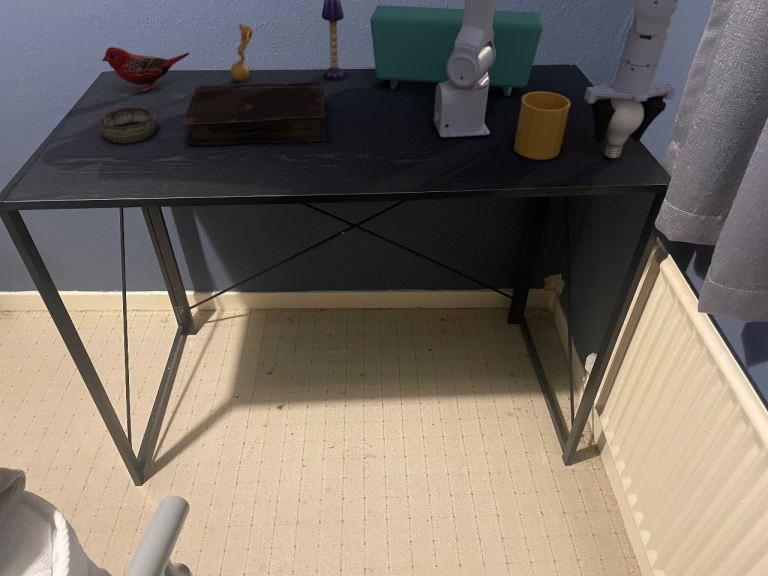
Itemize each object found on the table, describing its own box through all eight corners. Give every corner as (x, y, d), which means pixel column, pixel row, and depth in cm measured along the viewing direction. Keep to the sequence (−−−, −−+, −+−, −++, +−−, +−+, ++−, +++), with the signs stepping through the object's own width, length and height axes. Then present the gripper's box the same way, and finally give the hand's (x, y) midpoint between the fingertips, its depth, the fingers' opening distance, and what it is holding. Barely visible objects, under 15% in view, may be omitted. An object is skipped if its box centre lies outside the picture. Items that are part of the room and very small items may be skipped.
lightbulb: (631, 168, 99) (651, 106, 92) (593, 164, 100) (610, 103, 93) (627, 151, 104) (646, 91, 96) (591, 147, 105) (607, 88, 97)
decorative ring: (165, 121, 112) (113, 121, 112) (161, 105, 110) (108, 105, 110) (150, 145, 104) (95, 146, 104) (145, 128, 102) (89, 129, 102)
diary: (201, 107, 117) (196, 82, 114) (324, 102, 119) (322, 78, 116) (187, 149, 103) (181, 123, 100) (326, 144, 105) (325, 118, 102)
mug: (568, 156, 102) (579, 107, 96) (527, 162, 100) (536, 113, 95) (538, 129, 110) (547, 83, 104) (499, 135, 108) (506, 88, 102)
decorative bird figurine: (111, 96, 121) (96, 47, 115) (193, 79, 128) (183, 32, 122) (115, 101, 119) (100, 51, 113) (197, 83, 127) (188, 36, 120)
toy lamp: (349, 75, 131) (347, -4, 120) (338, 82, 128) (334, 1, 117) (332, 71, 133) (328, -8, 122) (320, 77, 130) (315, -3, 119)
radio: (527, 82, 128) (540, 10, 118) (530, 101, 121) (543, 25, 111) (377, 73, 132) (377, 2, 122) (370, 91, 124) (369, 17, 114)
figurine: (232, 74, 131) (222, 18, 123) (258, 73, 132) (251, 17, 124) (232, 88, 125) (222, 30, 117) (260, 86, 125) (252, 29, 118)
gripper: (606, 71, 87) (585, 153, 96) (695, 67, 88) (666, 148, 97) (588, 55, 92) (569, 134, 101) (672, 51, 94) (647, 129, 103)
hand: (616, 139), depth 100 cm, fingers closed on lightbulb, 6 cm apart
